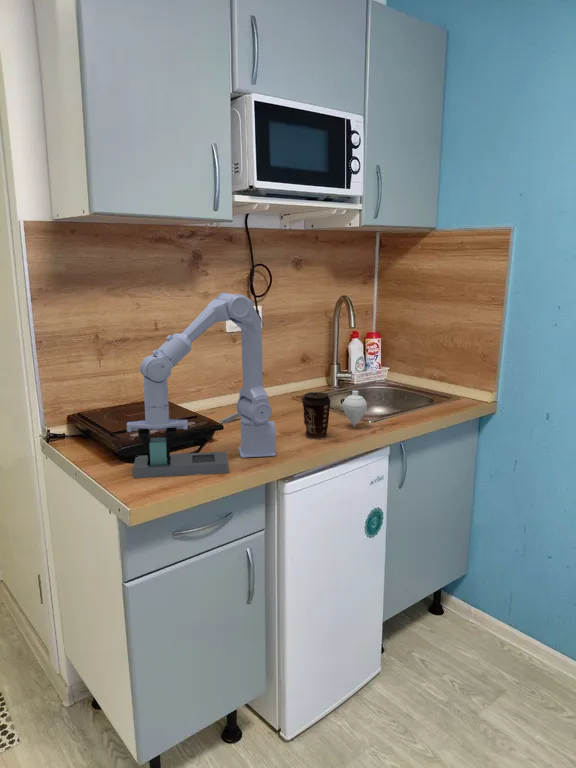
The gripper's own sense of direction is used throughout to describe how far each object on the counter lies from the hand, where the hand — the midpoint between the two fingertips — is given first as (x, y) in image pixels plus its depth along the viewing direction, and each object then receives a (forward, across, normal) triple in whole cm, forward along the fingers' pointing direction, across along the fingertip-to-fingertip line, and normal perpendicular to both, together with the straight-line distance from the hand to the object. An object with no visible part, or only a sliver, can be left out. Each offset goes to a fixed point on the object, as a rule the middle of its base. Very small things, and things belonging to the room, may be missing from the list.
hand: (159, 457), depth 141 cm
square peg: (+2, 0, 0) cm, 3 cm away
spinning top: (+4, -59, -28) cm, 66 cm away
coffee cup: (+4, -45, -22) cm, 50 cm away
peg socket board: (+3, -6, 0) cm, 6 cm away
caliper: (+4, -25, -44) cm, 51 cm away
